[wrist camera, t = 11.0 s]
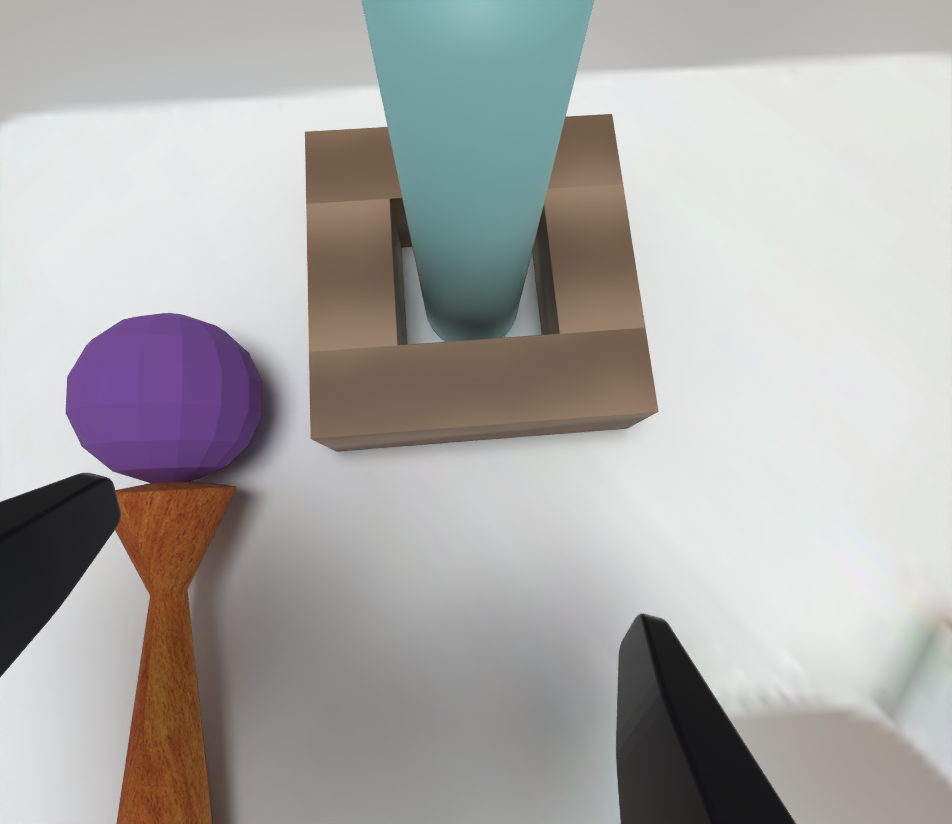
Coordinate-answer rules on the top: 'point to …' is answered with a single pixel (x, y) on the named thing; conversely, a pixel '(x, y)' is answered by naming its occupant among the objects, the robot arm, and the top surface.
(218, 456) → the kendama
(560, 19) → the peg
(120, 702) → the top surface
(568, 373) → the socket
